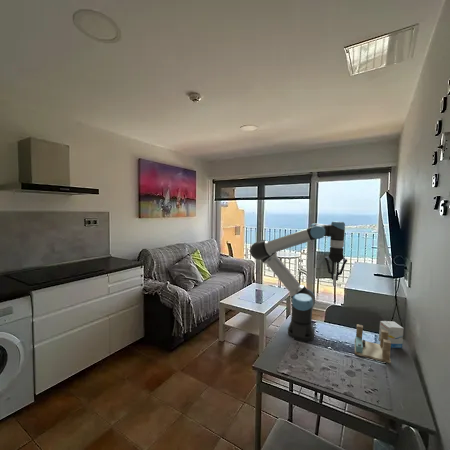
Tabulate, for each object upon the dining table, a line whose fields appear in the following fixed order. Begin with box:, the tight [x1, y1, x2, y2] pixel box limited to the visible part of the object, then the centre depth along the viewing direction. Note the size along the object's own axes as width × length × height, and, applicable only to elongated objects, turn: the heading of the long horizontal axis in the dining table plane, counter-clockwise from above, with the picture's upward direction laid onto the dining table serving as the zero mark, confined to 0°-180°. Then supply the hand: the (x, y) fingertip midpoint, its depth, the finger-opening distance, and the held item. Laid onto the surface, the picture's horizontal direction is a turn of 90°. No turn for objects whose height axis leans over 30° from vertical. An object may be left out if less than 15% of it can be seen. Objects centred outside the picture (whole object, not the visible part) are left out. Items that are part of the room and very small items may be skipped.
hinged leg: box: [354, 336, 363, 353], centre depth 137 cm, size 11×3×4 cm, turn 155°
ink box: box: [378, 320, 404, 349], centre depth 144 cm, size 9×8×12 cm
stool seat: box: [354, 324, 392, 364], centre depth 136 cm, size 16×16×10 cm
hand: (334, 285), depth 154 cm, fingers closed
